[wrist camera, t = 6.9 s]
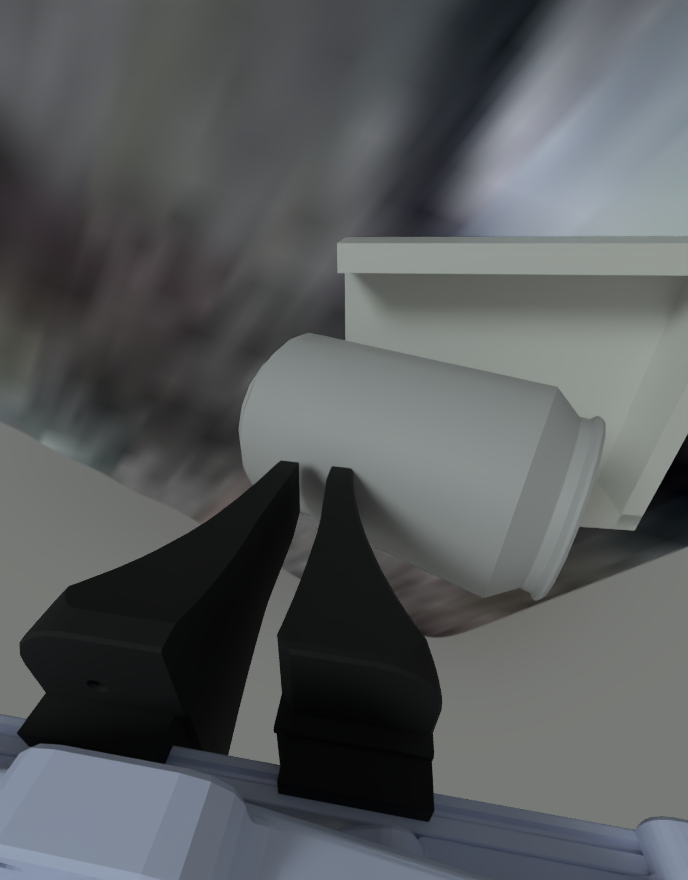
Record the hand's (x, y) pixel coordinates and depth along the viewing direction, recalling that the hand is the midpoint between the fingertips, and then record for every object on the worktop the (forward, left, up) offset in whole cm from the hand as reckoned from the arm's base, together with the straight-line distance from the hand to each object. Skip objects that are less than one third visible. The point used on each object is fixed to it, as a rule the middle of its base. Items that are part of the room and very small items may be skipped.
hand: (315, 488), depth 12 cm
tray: (+8, 0, -9) cm, 12 cm away
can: (-3, 0, -6) cm, 6 cm away
